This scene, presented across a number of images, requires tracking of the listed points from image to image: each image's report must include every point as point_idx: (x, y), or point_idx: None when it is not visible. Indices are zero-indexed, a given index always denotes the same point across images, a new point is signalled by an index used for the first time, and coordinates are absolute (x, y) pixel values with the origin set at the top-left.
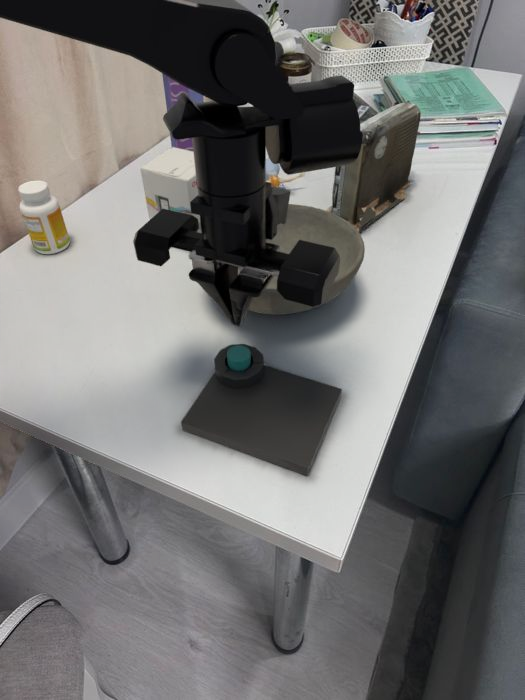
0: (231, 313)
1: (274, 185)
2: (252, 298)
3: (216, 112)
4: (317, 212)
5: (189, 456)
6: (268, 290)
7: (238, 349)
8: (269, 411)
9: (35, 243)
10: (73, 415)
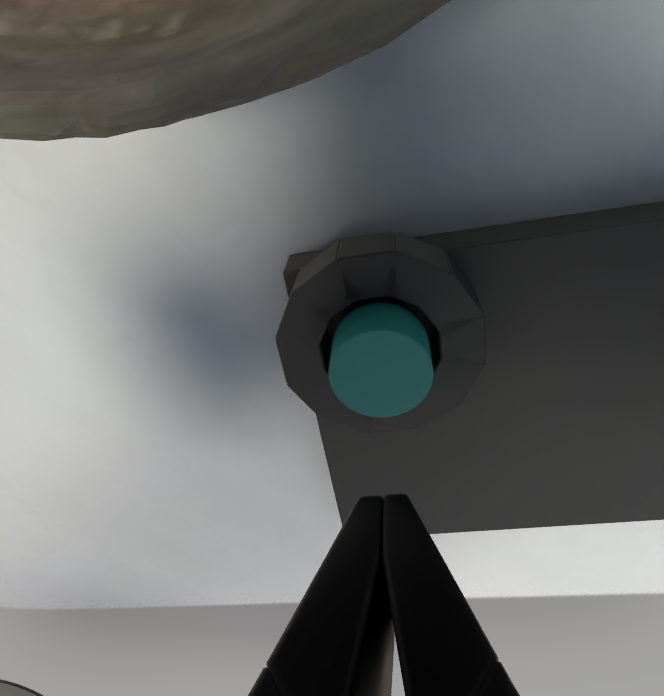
0: (391, 675)
1: None
2: (485, 635)
3: None
4: None
5: None
6: (342, 44)
7: (365, 358)
8: (568, 417)
9: None
10: (105, 573)
